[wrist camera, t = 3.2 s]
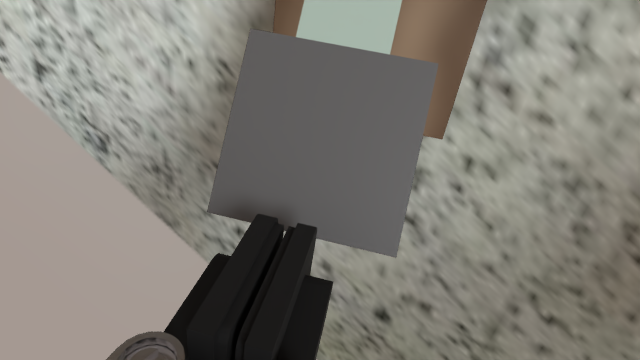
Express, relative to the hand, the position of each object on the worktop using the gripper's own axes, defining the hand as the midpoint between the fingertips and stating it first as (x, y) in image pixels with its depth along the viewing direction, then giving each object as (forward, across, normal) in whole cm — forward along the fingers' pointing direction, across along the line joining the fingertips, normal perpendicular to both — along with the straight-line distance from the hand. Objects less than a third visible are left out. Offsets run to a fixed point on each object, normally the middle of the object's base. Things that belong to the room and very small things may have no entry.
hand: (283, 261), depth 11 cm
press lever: (+8, 0, -7) cm, 11 cm away
